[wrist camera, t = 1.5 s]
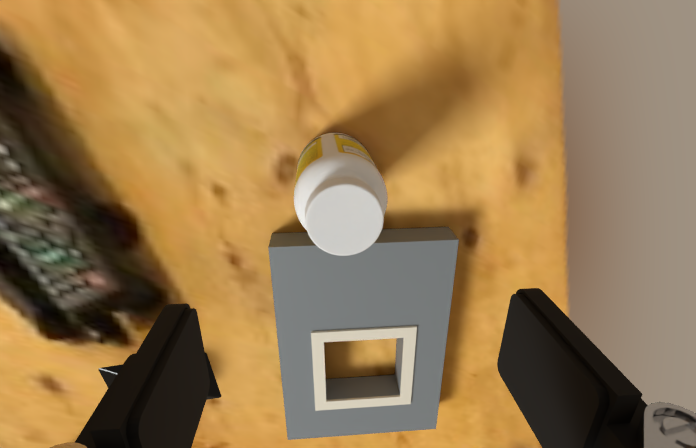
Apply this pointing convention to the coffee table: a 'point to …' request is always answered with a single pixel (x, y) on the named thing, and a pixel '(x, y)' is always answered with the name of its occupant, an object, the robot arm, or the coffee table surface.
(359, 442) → the coffee table surface
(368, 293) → the board
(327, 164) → the supplement bottle
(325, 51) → the coffee table surface
